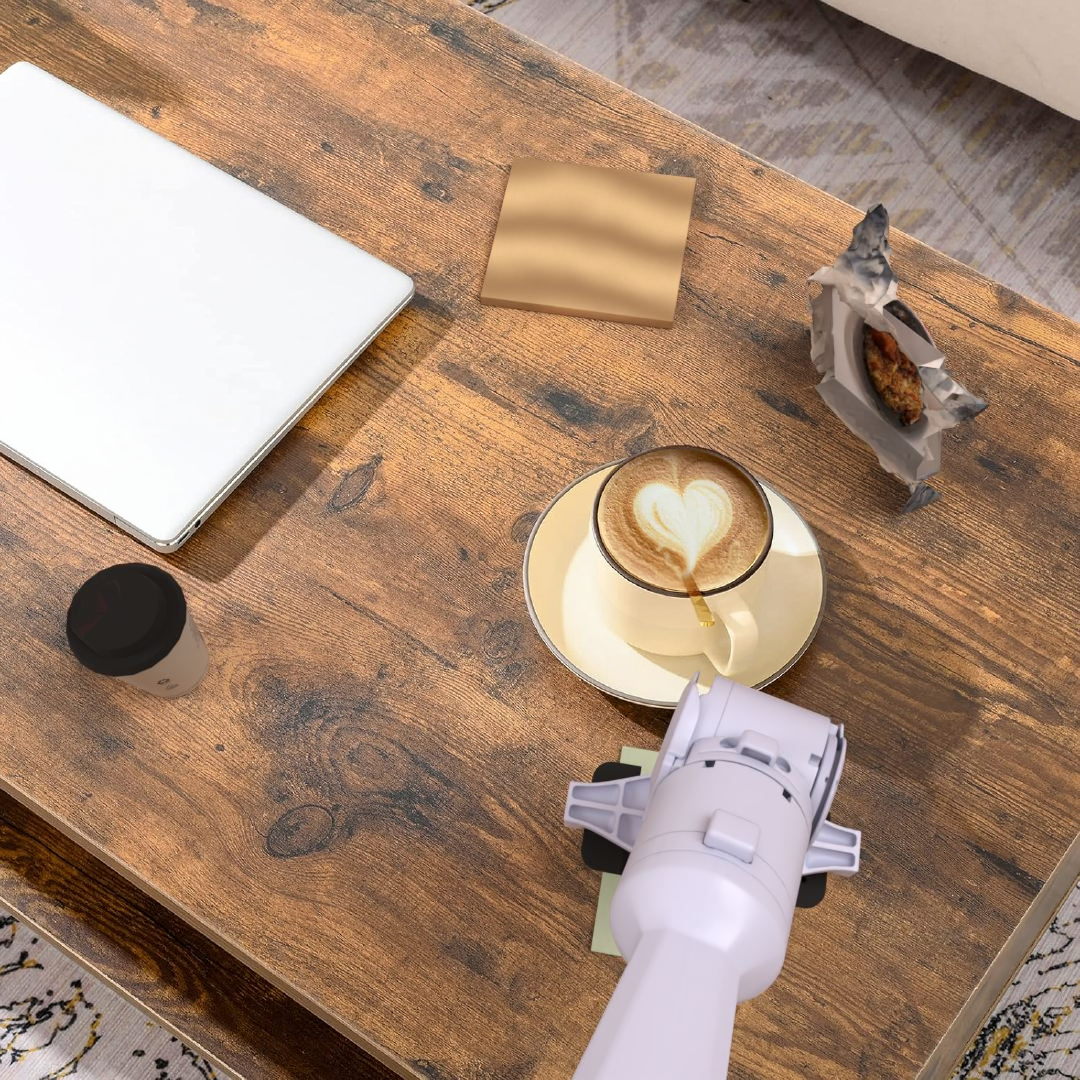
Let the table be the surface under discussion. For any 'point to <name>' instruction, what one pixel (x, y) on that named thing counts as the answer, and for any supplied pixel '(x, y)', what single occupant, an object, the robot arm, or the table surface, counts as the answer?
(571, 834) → the table surface
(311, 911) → the table surface
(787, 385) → the table surface
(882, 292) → the meal
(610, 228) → the bread board
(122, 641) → the coffee cup
